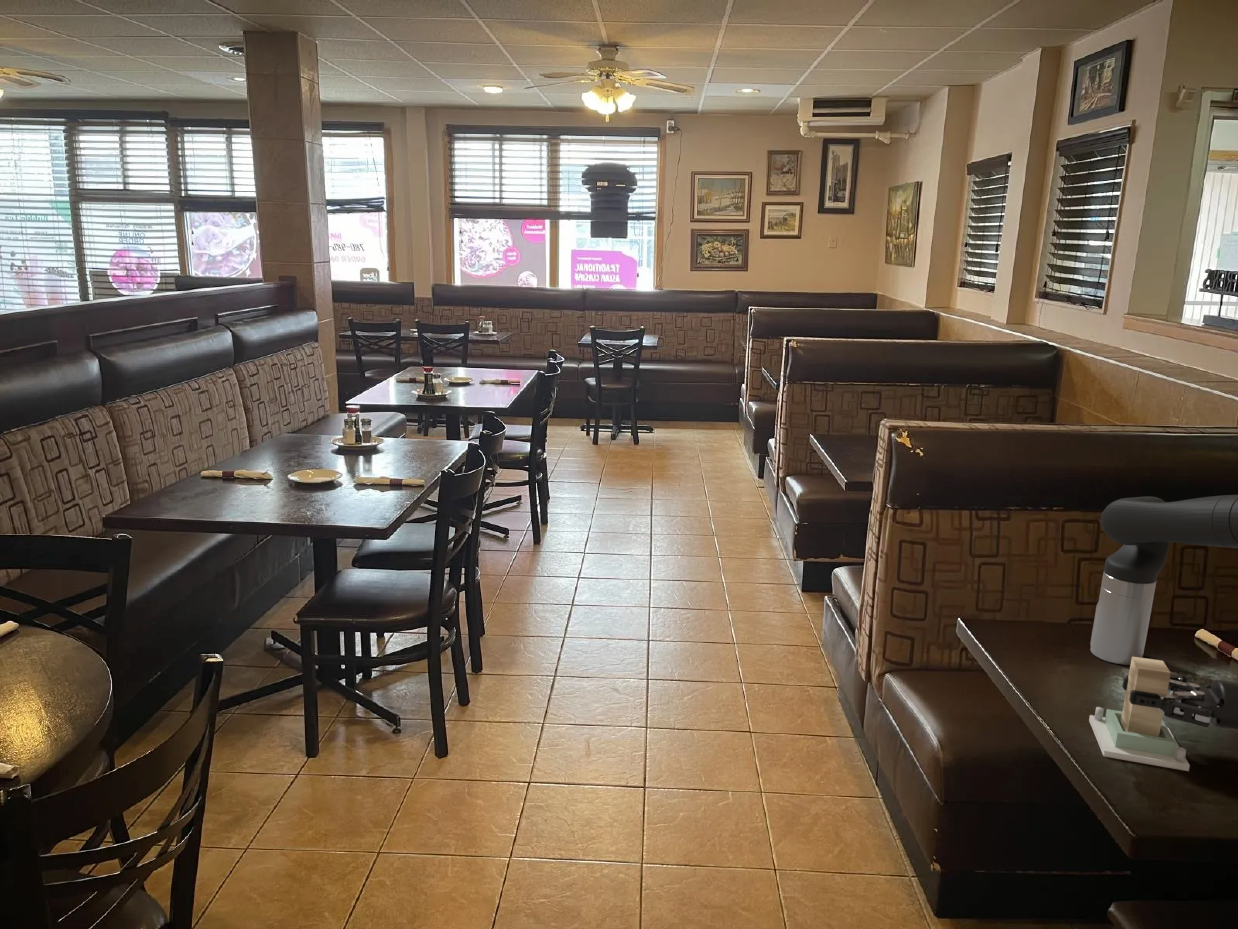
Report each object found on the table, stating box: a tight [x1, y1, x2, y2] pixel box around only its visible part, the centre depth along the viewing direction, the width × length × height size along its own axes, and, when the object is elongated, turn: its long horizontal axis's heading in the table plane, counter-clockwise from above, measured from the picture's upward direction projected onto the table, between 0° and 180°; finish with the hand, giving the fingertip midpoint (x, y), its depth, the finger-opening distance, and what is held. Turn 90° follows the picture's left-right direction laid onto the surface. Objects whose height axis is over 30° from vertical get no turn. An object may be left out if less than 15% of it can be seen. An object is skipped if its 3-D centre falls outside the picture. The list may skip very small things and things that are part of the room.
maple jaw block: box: [1121, 657, 1171, 737], centre depth 143 cm, size 4×4×12 cm
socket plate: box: [1088, 706, 1191, 772], centre depth 144 cm, size 12×12×4 cm
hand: (1127, 689), depth 143 cm, fingers closed on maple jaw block, 4 cm apart
